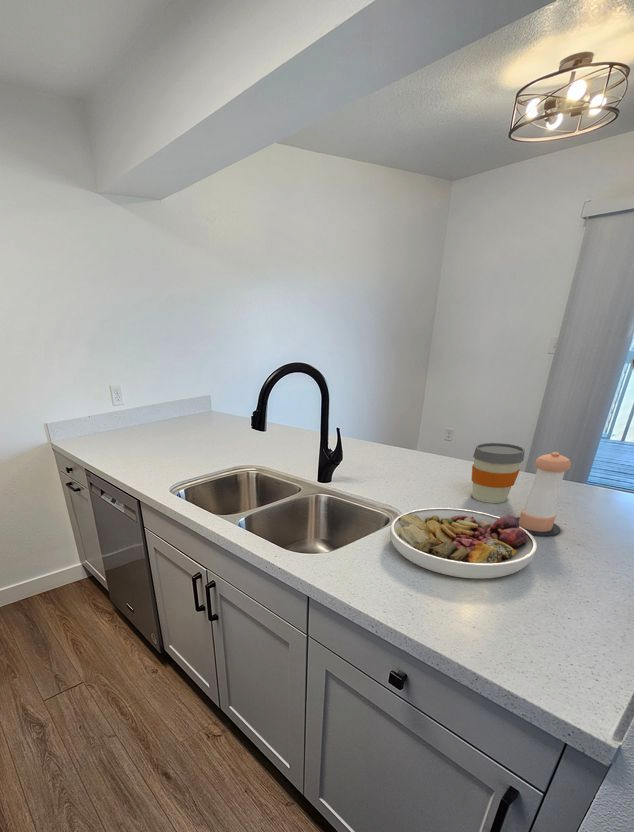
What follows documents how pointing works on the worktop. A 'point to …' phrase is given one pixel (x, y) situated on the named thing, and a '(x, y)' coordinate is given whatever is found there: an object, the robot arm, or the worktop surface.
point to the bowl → (463, 542)
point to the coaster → (552, 532)
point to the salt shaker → (544, 493)
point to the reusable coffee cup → (495, 471)
